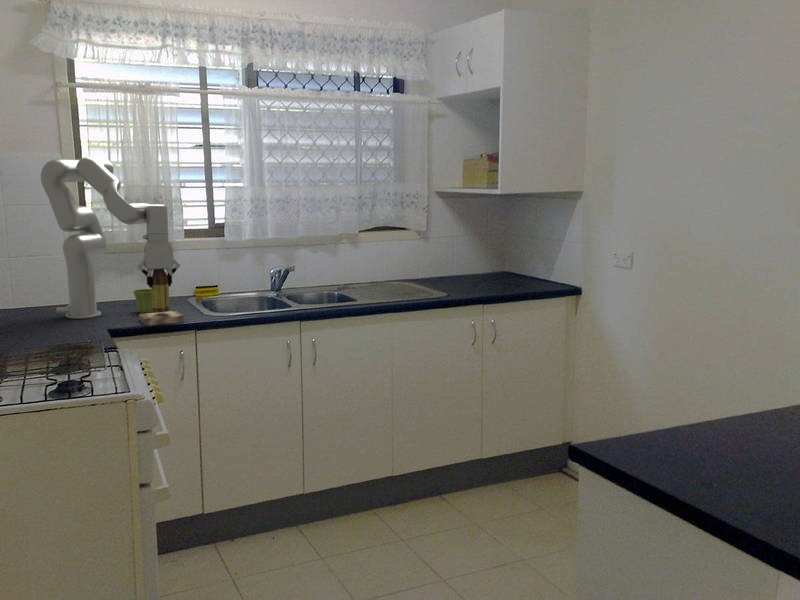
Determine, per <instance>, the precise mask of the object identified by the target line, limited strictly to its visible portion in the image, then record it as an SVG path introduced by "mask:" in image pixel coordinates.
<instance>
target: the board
mask: <svg viewBox="0 0 800 600" xmlns="http://www.w3.org/2000/svg"><path fill="white" fill-rule="evenodd" d="M138 316H139V317H138V319H139V320H140V322H141V323H142V324H143V325H145V326H146V327H148V326H155V325H156V326H157V325H168V324H179V323H185V315H184V314H182V313H181V312H179V311H178V310H169V311H166V312H150V313H147V312H144V313H139V314H138Z"/></svg>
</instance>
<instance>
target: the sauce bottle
mask: <svg viewBox="0 0 800 600" xmlns="http://www.w3.org/2000/svg"><path fill="white" fill-rule="evenodd" d="M167 274H168V273H167V272H166V271H165V269H154V270H152V275H151V277H152V288H150V289H151V291H152V307H153V311H154V313H157V312H169V311H171V310H170V309H171V308H170V306H171V305H170V302H171V301H170V291H169V290H170V289H169V287H170V286H169V284H168V276H167Z"/></svg>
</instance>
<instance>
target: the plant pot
mask: <svg viewBox="0 0 800 600" xmlns="http://www.w3.org/2000/svg"><path fill="white" fill-rule="evenodd" d="M132 293H133V296H134V298H135V302H136V307H137V308H136V309H137V312H138V313H139V312H140V313H139V314H145V313H155V311H153V307H152V291H151V288H141V289H140V288H139V289H134V290H132Z"/></svg>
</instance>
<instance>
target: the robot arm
mask: <svg viewBox="0 0 800 600" xmlns="http://www.w3.org/2000/svg"><path fill="white" fill-rule="evenodd" d="M40 182H41V185H42V188H43V190H44V192H45V194H46V196H47V198H48V201H49V203H50V206H51V209H52V211H53V215H54V217H55V220H56V222H57V225H58V227H59V228H60V230H61V231H63V232H66V233H74V232H75V233H76V232H79V233H76V234H71V235H69V236H67V237H66V238H65V240H64V242H63V244H62V252H63V255H64V259H65V263H66V272H67V283H68V285H67V286H68V300H69V301H68V302H69V303H68V304H67V305H65V306H64V307H63V306H62V307H56V313H57V314H58V313H61V314H62V313H66V314H65V317H66V318H69V319H76V320H77V319H81V320H82V319H90V318H91V319H92V318H96V317H100V316H102V311H100V310H97V309H98V308H97V295H96V277H95V268H94V265H93V263H92V261H91V258H96V257H97V258H98V257H100V256H102V255H103V254H104V253H105V252H106V251H107V240H106V236H105V235H104V232H103V229H102V226H101V223H100V221H99V219H98V216H97V214H96V213H95V211H94V210H93V209H91V208H90V207H89V206H83V205H79V206H78V205H77V202H76V201H75V198H74V195H73V193H72V192H71V190H70V189H69V188H68V186H67V185H66V184H65V183H81V182H86V183H87V184H88V185H90V186H91V188H93V189H94V190H95V191H96V192H97V193H99V194H100V195H101V196H102V201H103V204H104V205H105V207H106V210H108V211H109V213H110V214H111V215H112V216H114V217H115V218H116V219H117V220H118V221H120V222H121V223H123V224H125V225H128V226H129V225H141V224H142V225H143V224H146V234H144V235H142V239H143V240H146V241H145V244H144V249H143V251H144V252H143V260H142V261H141V262H140V263H139V264H138V265H137V266H136V269H138V270H139V271H140V272H141V273H143V275H145V276H146V284H147V286H148V288H149V289H151V288H152V275H151V274H153V271H154V269H164V270H166V271H165V272H166V274H167V276H168V284H169V287H171V286H172V284H173V275H174V274H175V273H176V272H177V270H178V269H179V268H180V267H181V264H180V263H179V262H178V261H177V260H176V259H174V257H175V256H174V251H173V245H172V242H171V240H170V241H169V221H168V218H169V217H168V216H169V215H168V207H167V205H166V204H161V203H160V204H159V203H158V204H156V203H155V204H154V203H153V204H150V203H143V202H139V203H138V202H135V203H134V202H133V203H129V202H127V201H126V200H125V199H124V197H122V196H121V195H120V194H119V191H120V190H121V186H122V185H121V181H120V180H119V178H118V177H116V176H115V175H114V166H113V164H112V163H111V161H110V159H107V158H105V157H102V156H100V157H99V156H85V157H82V158H80V159H69V158H68V159H67V158H62V159H61V158H59V159H57V158H55V159H52V160H49V161H47V162H46V163H45V164H43V167H42V169H41V171H40ZM143 266H144V267H143ZM145 268H147V269H145Z"/></svg>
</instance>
